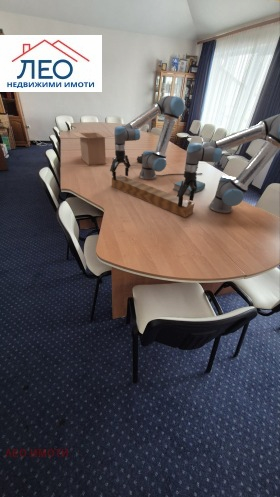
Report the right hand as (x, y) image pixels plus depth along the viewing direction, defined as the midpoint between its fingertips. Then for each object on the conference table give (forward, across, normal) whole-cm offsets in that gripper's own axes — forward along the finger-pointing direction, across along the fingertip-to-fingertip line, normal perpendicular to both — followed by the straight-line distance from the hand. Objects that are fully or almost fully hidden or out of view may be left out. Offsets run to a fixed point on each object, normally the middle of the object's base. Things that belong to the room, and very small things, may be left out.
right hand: (185, 203), depth 147 cm
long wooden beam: (+6, 0, +32) cm, 33 cm away
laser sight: (+6, +70, +94) cm, 118 cm away
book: (+7, +41, +22) cm, 47 cm away
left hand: (-2, 0, +62) cm, 63 cm away
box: (+4, +28, +134) cm, 136 cm away
